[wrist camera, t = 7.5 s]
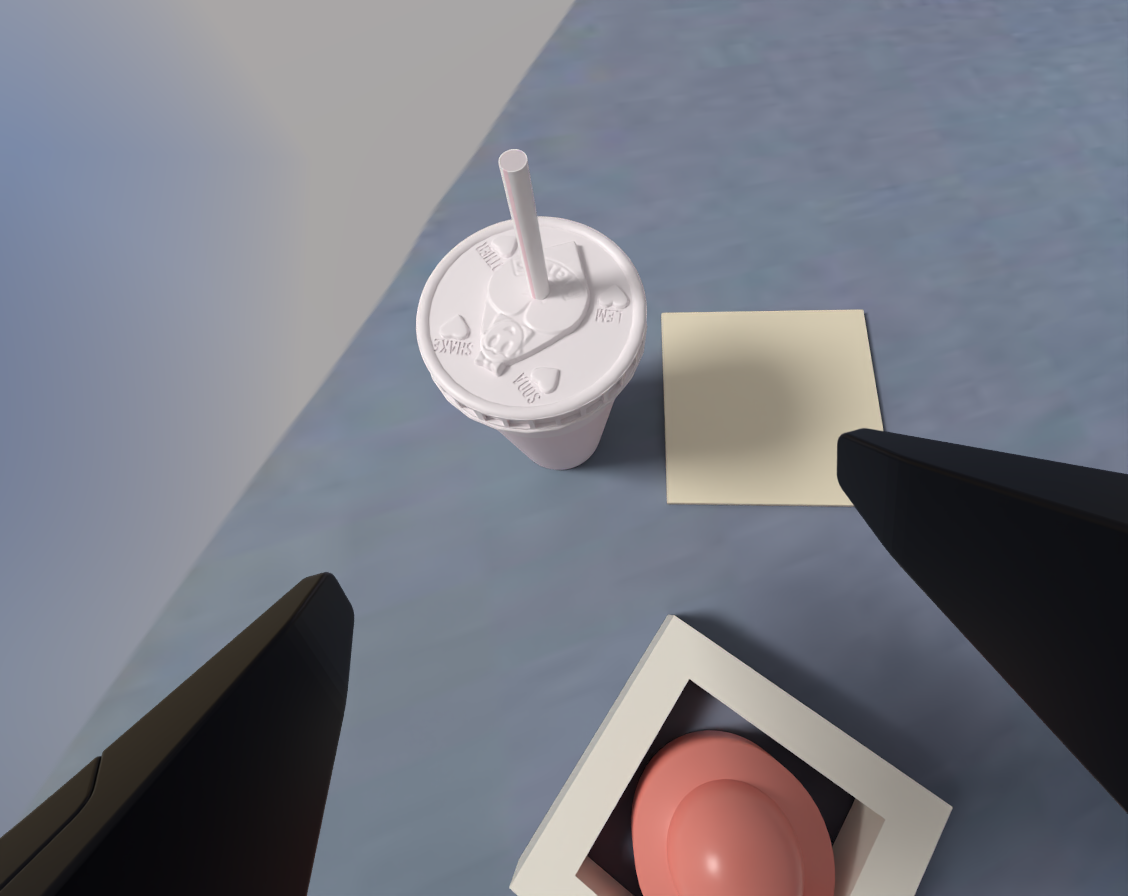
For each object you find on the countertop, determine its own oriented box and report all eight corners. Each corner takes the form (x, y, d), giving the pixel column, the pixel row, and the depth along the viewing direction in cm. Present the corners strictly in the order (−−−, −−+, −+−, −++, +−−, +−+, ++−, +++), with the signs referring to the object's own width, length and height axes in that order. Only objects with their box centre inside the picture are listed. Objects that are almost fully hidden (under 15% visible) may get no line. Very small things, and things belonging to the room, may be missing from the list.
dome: (841, 805, 18) (906, 858, 14) (755, 983, 16) (800, 1096, 13) (687, 693, 19) (707, 714, 15) (597, 850, 18) (595, 915, 14)
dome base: (916, 786, 18) (953, 807, 16) (778, 1088, 16) (801, 1153, 14) (667, 614, 20) (674, 615, 18) (519, 858, 18) (509, 887, 16)
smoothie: (658, 406, 23) (730, 123, 10) (583, 529, 22) (547, 395, 8) (538, 343, 24) (458, 21, 11) (461, 454, 23) (262, 238, 10)
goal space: (891, 507, 21) (895, 505, 21) (667, 503, 22) (667, 502, 21) (859, 313, 24) (863, 309, 23) (661, 316, 24) (661, 312, 24)
